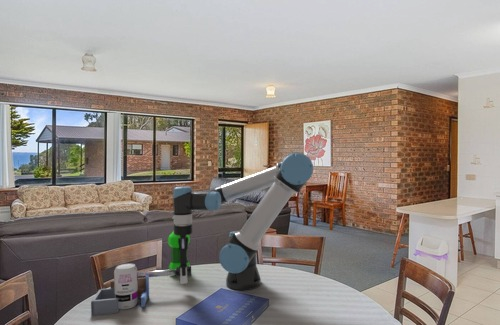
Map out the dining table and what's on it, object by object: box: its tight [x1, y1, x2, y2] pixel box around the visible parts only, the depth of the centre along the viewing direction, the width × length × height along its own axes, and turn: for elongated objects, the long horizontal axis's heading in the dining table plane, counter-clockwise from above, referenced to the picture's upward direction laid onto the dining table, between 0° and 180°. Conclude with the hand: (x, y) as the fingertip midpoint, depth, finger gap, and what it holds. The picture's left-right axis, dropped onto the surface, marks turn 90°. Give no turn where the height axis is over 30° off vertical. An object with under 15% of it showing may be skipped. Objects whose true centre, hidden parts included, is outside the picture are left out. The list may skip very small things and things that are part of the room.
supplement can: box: [113, 262, 139, 310], centre depth 130 cm, size 8×8×15 cm
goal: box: [90, 287, 119, 316], centre depth 129 cm, size 9×12×5 cm
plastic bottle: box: [167, 223, 191, 270], centre depth 165 cm, size 10×10×25 cm
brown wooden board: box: [109, 278, 146, 299], centre depth 137 cm, size 14×1×8 cm, turn 100°
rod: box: [137, 265, 192, 308], centre depth 135 cm, size 22×13×11 cm, turn 100°
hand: (184, 280), depth 141 cm, fingers closed on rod, 4 cm apart
